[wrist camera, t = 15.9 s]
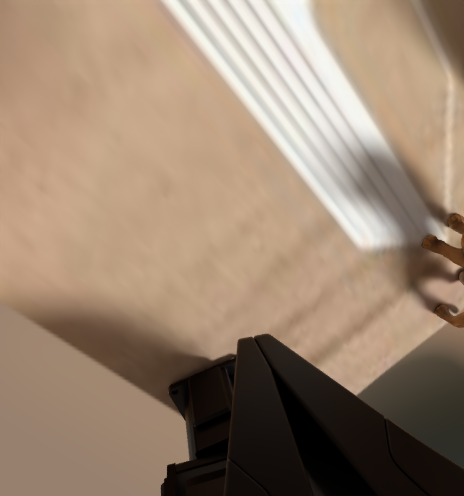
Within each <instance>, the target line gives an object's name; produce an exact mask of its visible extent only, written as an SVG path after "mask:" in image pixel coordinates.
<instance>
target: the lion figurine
mask: <svg viewBox="0 0 464 496" xmlns="http://www.w3.org/2000/svg"><path fill="white" fill-rule="evenodd" d="M448 224H449V226H450V228H451V229H453V230H454V231H456V232H458V233H460V234H462V238H461V246H462V248H461V249H459V248H455V247H452V246H450V245H448V244H447V243H445V242H444V241H442V240H438V239H437V237H436V236H433V235H430V236H427V237H426V238H425V240H424V241H423V244H422V247H424V248H426V249H428V250H430V251H432V252H435V253H438V254H441V255H443V256H445V257H446V258H448V259H449V260H451V261H452V262H453V263H455V264H457V265H459V266H461V267H463V268H464V217H463V216H461V215H459V214H455V215H453V216H452V217H451V218H449V221H448ZM459 280H460V282H461V283H462V284H463V285H464V270H463V271H462V272H461V273H460V275H459ZM435 313H436V315H437V316H439V317H440V318H442V319H444V320H446V321H447V322H449V323H450V324H452V325H453V326H456V327H458V328H463V327H464V312H463V313H460V314H458V315H456V316H453V315H451V314H450V312H449V309H448V307H447V306H445V305H440V306H439V307H437V308H436V310H435Z"/></svg>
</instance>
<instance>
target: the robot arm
mask: <svg viewBox="0 0 464 496" xmlns="http://www.w3.org/2000/svg"><path fill="white" fill-rule="evenodd" d="M174 390H176V391H174ZM169 395H170V397H171V398H172V400H173V402H174V403H175V405H176V406H177V408H178V410H179V411H180V413H181V415H182V416H183V418H184V420H185V421H186V429H187V439H188V449H189V459H190V461H186V462H183V463H179V464H175V463H174V464H170V465H167V478H165V479H164V483H163V484H162V485H161V496H464V469H463V468H462V467H460V466H459V465H457V464H455V463H454V462H452V461H451V460H449V459H447V458H446V457H444V456H442V455H441V454H440V453H438V452H436V451H435V450H433V449H432V448H430V447H429V446H427V445H425V444H424V443H422V442H421V441H420V440H418V439H417V438H415V437H414V436H412V435H411V434H410V433H408V432H407V431H405V430H404V429H402V428H401V427H399V426H398V425H397V424H395V423H394V422H392V421H391V420H390V419H388V418H385V419H384V416H383V415H382V414H381V413H380V412H378V411H377V410H375V409H374V408H373V407H371V406H370V405H368V404H367V403H365V402H364V401H363V400H361V399H360V398H358V397H357V396H356V395H354V394H353V393H351V392H350V391H349V390H347V389H346V388H344V387H343V386H342V385H340V384H339V383H337V382H336V381H335V380H333V379H332V378H330V377H329V376H328V375H326V374H325V373H323V372H322V371H321V370H319V369H318V368H316V367H315V366H313V365H312V364H311V363H309V362H308V361H306V360H305V359H304V358H302V357H301V356H299V355H298V354H297V353H295V352H294V351H292V350H291V349H290V348H288V347H287V346H285V345H284V344H283V343H281V342H280V341H278V340H277V339H276V338H274V337H273V336H271V335H270V334H262V335H257V336H255V337H254V338H253V337H247V338H241V339H239V340H238V344H237V355H236V358H234V359H231V360H229V361H227V362H224V363H222V364H219V365H217V366H215V367H212V368H210V369H208V370H205V371H203V372H201V373H198V374H196V375H193V376H191V377H189V378H186V379H184V380H182V381H179V382H177V383H175V384H172V385H171V386H170V387H169Z"/></svg>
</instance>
